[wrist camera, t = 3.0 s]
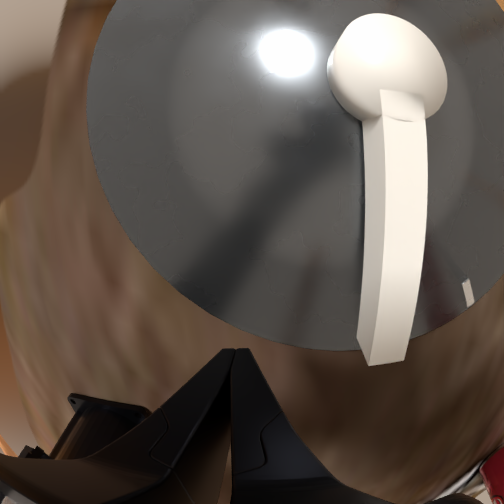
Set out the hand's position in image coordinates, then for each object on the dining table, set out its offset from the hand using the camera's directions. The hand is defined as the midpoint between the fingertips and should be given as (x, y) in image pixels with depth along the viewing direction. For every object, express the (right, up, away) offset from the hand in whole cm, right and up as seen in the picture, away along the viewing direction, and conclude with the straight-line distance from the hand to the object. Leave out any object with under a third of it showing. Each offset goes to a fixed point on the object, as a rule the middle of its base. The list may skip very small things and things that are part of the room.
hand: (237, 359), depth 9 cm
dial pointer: (+6, +6, +2) cm, 8 cm away
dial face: (+5, +10, +1) cm, 12 cm away
